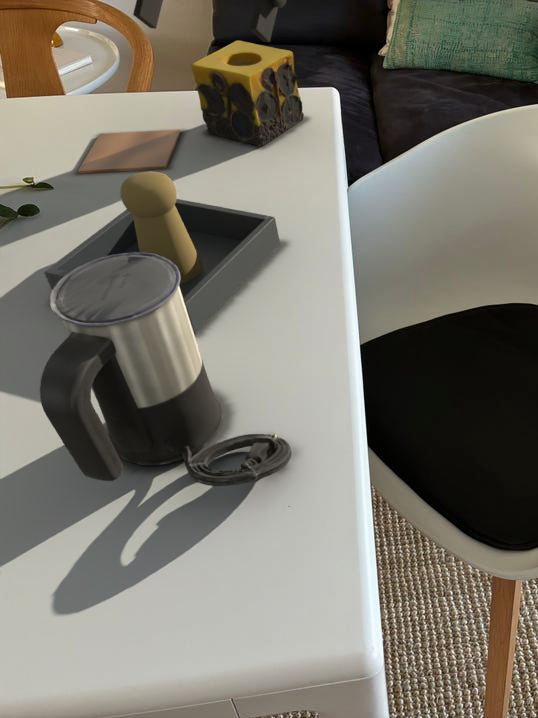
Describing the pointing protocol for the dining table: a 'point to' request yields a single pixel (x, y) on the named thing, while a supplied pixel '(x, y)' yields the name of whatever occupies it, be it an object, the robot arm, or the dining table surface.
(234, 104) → the candle
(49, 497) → the dining table surface
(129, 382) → the milk frother
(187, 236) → the pepper shaker
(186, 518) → the dining table surface
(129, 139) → the coaster
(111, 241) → the tray
